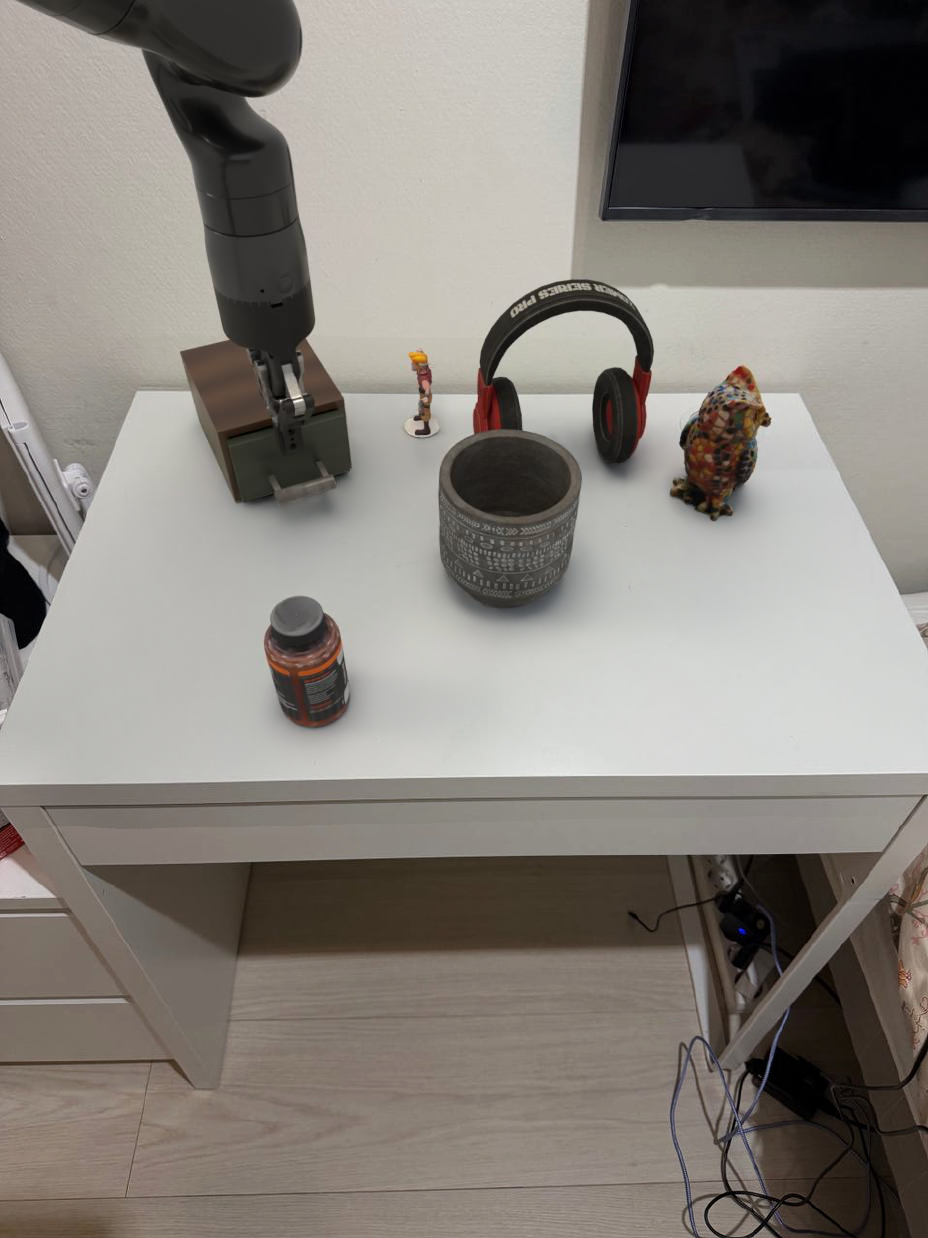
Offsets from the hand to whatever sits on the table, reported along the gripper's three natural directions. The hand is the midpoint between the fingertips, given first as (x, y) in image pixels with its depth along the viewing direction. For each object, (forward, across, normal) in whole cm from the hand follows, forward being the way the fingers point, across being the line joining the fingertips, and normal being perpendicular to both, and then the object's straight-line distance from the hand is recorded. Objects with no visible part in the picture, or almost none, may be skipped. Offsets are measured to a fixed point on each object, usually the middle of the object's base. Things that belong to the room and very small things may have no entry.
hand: (290, 449), depth 79 cm
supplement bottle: (+9, +22, -6) cm, 24 cm away
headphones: (+8, +3, +28) cm, 29 cm away
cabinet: (+9, -12, +1) cm, 15 cm away
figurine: (+8, +15, +40) cm, 43 cm away
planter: (+9, +16, +15) cm, 23 cm away
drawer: (+8, -8, +1) cm, 11 cm away
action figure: (+9, -7, +17) cm, 20 cm away
